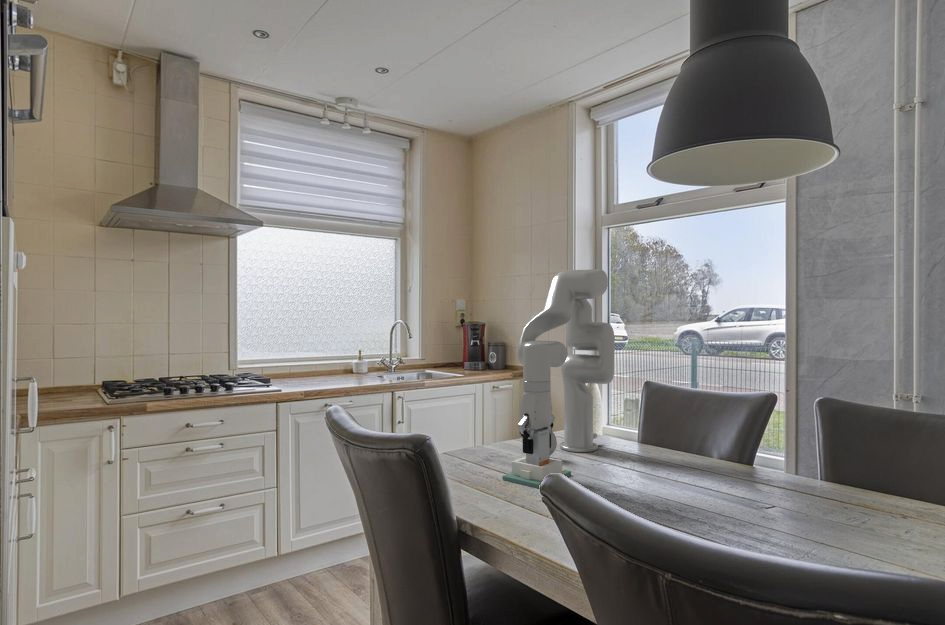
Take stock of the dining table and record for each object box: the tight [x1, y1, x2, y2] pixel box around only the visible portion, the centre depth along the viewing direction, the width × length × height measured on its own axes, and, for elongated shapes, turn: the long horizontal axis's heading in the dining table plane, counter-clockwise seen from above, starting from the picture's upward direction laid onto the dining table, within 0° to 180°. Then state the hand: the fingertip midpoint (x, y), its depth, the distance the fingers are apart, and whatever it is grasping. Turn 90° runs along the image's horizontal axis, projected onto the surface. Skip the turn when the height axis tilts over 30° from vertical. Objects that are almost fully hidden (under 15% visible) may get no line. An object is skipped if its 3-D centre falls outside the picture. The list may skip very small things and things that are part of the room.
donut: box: [549, 431, 558, 457], centre depth 173 cm, size 10×4×10 cm, turn 61°
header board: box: [502, 456, 572, 489], centre depth 152 cm, size 16×12×4 cm
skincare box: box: [525, 428, 550, 466], centre depth 152 cm, size 6×4×12 cm
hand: (537, 450), depth 152 cm, fingers open, 8 cm apart
